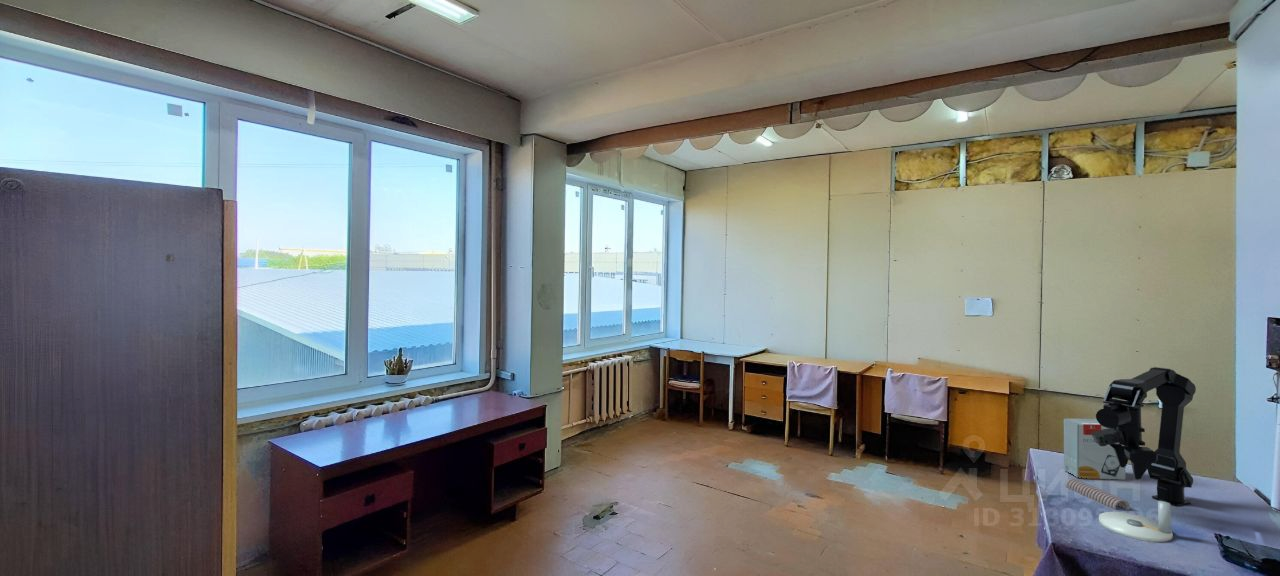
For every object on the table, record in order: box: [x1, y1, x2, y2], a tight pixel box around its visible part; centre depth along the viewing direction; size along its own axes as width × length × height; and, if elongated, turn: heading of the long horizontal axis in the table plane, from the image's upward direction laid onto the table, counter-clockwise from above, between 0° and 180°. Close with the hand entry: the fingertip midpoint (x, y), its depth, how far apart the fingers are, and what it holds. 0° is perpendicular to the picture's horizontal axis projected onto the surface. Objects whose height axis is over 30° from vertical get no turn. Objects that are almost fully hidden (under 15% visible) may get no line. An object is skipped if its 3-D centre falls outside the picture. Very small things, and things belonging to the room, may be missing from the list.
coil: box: [1065, 477, 1131, 511], centre depth 163 cm, size 5×5×18 cm
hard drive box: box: [1063, 418, 1126, 481], centre depth 183 cm, size 16×8×20 cm, turn 81°
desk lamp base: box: [1098, 500, 1174, 543], centre depth 144 cm, size 15×15×9 cm
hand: (1129, 472), depth 154 cm, fingers open, 9 cm apart
